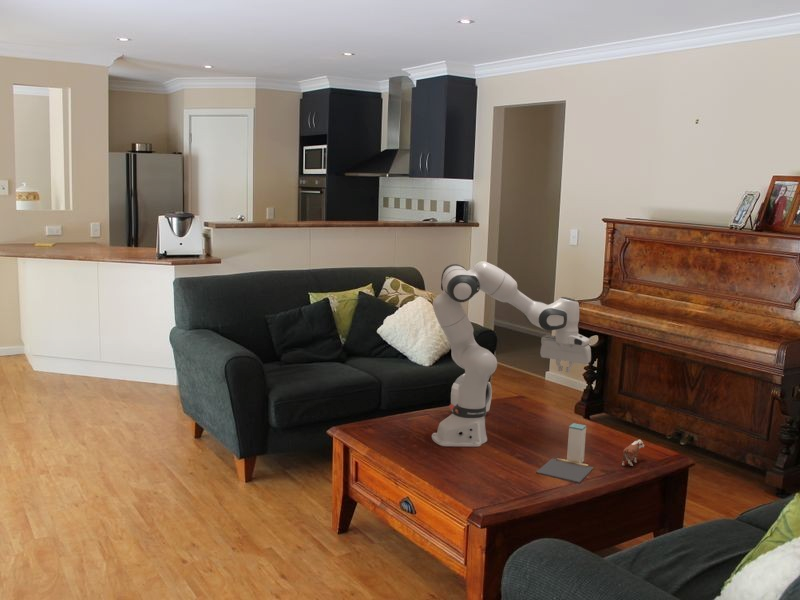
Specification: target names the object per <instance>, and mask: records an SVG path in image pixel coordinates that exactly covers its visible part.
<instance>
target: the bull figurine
mask: <svg viewBox="0 0 800 600" xmlns="http://www.w3.org/2000/svg"><path fill="white" fill-rule="evenodd" d="M641 448H645V444H644V442H643V441H642V440H641V439H634V441H633V442H632V443H630V444H629V445H628V446H626V447H624V449H623V451H622V464H621V466H623V467H624V466H625V460H626V461H627V462H628V463H627V464H628V465H629V466H632V467H633V466H634V465H633V463H636V464H637V462H638V461H637V458H638V455H639V453H640V449H641ZM633 458H634V460H633ZM632 462H633V463H632Z"/></svg>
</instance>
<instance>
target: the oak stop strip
mask: <svg viewBox="0 0 800 600" xmlns="http://www.w3.org/2000/svg"><path fill="white" fill-rule="evenodd" d="M555 459H556V460H557V461H562V462H566V463H571V464H575V465H580V466H584V467H588V466H589V464H587V463H584V462H582V463H579V462H574V461H570V460H567V459H565V458H559V457H557V458H555Z"/></svg>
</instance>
